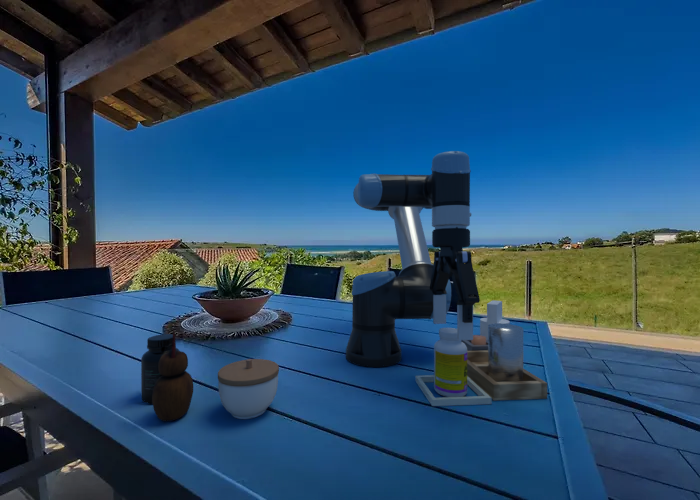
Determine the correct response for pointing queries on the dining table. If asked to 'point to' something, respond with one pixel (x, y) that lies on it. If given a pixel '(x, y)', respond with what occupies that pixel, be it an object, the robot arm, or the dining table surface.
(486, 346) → the gray open box
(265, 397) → the lidded jar
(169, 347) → the supplement bottle
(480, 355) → the wooden tray
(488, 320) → the cylinder with rectangular tab
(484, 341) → the pink block
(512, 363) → the billet
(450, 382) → the supplement bottle
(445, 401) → the rectangular frame
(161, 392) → the wooden figurine
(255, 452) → the dining table surface
